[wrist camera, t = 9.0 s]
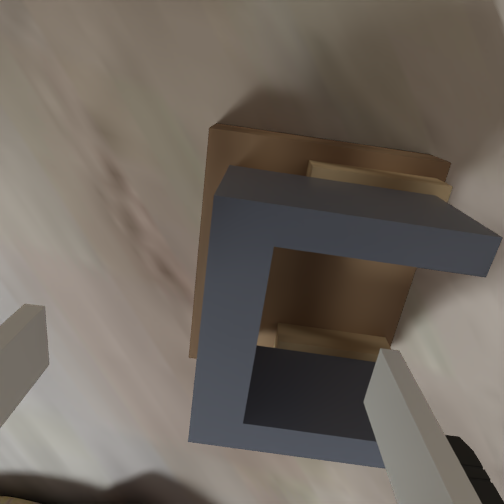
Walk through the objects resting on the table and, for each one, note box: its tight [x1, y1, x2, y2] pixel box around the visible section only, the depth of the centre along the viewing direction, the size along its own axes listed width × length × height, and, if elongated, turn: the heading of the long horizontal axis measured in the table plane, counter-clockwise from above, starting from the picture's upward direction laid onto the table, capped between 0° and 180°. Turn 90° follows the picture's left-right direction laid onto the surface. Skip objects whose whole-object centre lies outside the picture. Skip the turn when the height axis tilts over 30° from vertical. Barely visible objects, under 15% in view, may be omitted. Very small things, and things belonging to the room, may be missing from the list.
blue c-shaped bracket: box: [188, 165, 502, 469], centre depth 19 cm, size 10×12×6 cm
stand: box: [189, 123, 453, 362], centre depth 24 cm, size 13×15×5 cm
